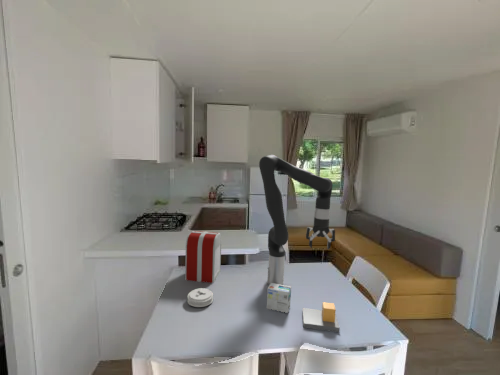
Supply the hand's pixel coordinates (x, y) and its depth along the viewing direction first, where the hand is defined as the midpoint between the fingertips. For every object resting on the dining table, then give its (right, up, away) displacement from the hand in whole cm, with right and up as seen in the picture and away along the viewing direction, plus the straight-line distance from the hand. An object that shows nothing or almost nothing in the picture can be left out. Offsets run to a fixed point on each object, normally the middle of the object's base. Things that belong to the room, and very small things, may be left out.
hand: (319, 247), depth 134 cm
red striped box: (-64, -23, +26) cm, 73 cm away
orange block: (-1, -28, -16) cm, 32 cm away
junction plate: (-4, -30, -16) cm, 34 cm away
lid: (-61, -27, -3) cm, 66 cm away
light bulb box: (-22, -28, -6) cm, 36 cm away
